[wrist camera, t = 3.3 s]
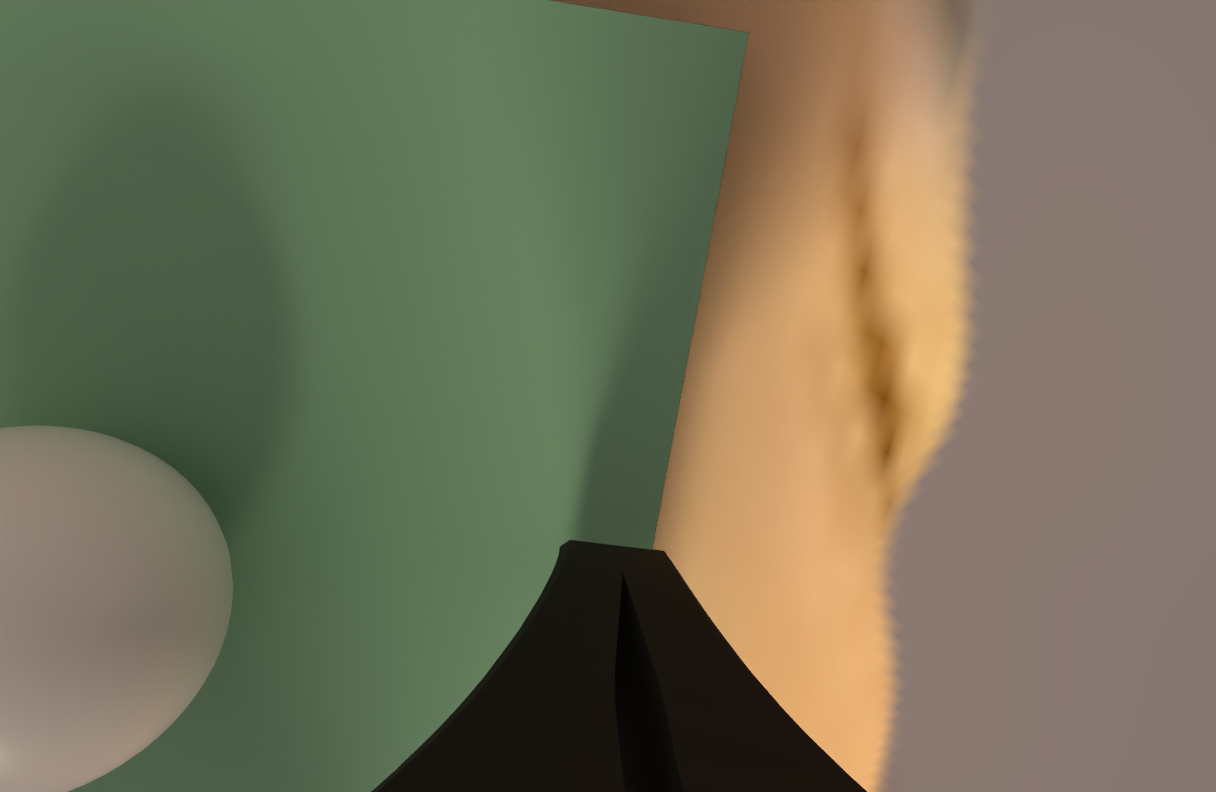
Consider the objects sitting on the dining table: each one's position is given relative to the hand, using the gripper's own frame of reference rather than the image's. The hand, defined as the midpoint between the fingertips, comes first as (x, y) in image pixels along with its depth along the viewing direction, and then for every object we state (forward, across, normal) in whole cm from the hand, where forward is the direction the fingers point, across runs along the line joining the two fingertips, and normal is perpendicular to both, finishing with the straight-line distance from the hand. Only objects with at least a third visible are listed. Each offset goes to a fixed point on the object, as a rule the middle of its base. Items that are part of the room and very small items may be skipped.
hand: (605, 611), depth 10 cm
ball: (-1, +6, 0) cm, 6 cm away
